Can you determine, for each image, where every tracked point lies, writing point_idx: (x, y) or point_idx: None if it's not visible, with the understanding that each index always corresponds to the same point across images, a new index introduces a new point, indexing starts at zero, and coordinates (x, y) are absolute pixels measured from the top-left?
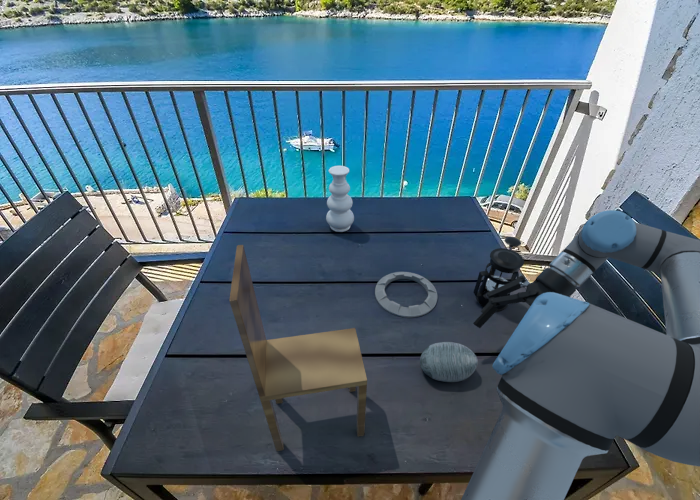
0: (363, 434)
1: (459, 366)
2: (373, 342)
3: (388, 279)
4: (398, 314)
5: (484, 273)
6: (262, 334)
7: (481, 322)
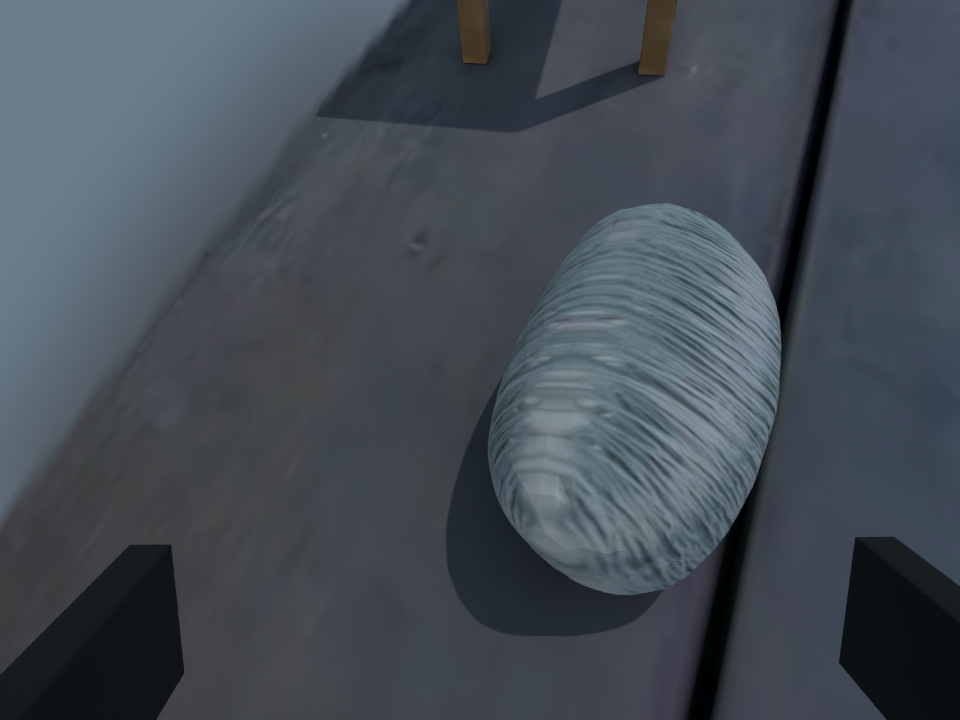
0: (462, 52)
1: (534, 356)
2: (896, 185)
3: None
4: None
5: None
6: None
7: (894, 648)
